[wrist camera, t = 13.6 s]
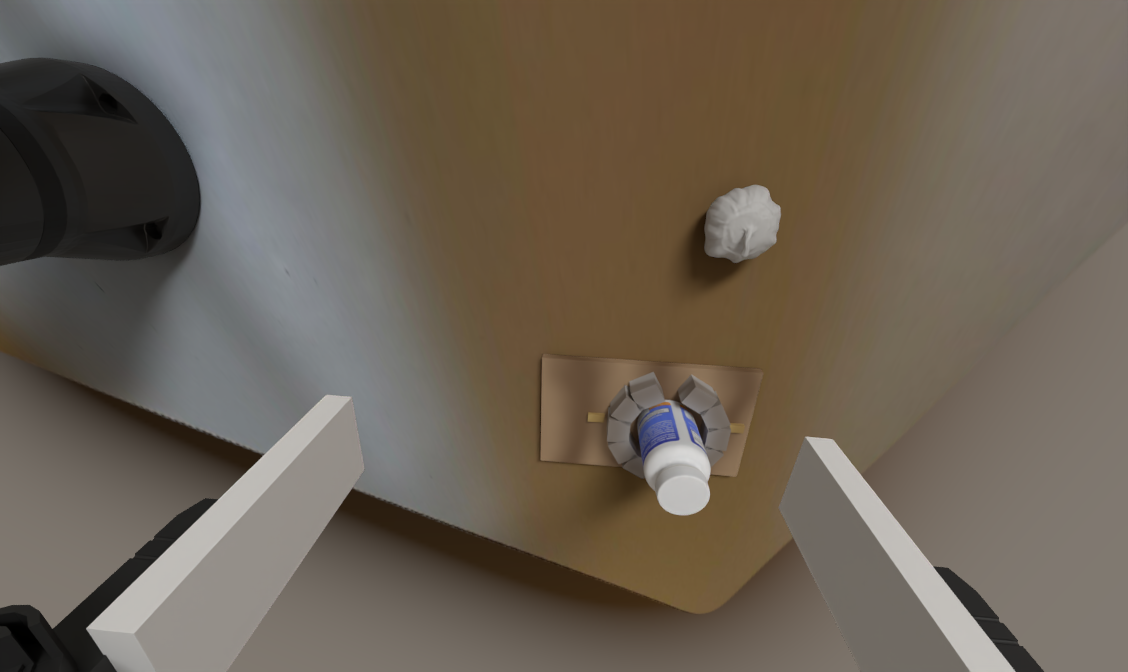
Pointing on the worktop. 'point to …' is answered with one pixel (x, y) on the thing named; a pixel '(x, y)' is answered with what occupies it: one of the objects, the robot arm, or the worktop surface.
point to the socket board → (603, 384)
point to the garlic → (741, 224)
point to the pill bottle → (674, 457)
